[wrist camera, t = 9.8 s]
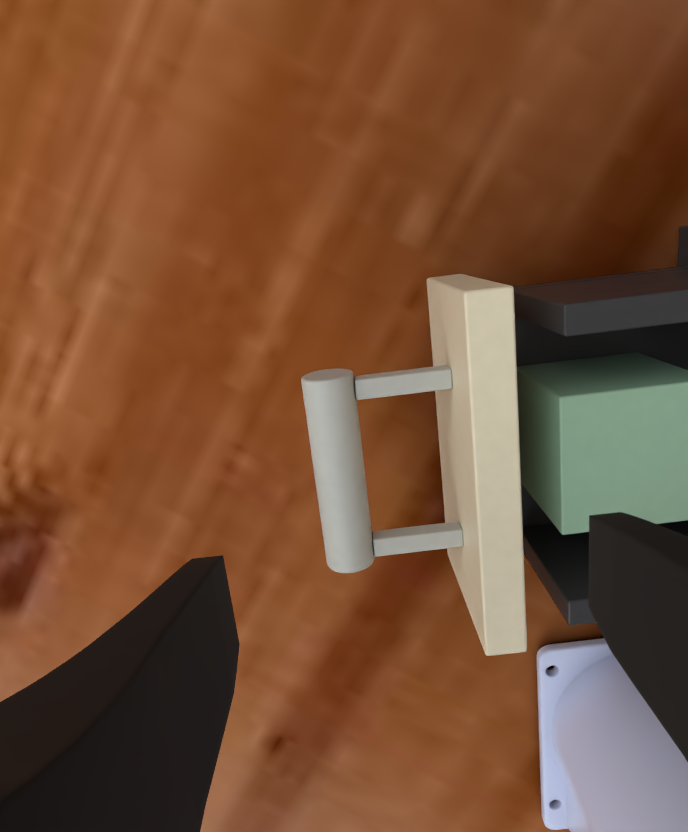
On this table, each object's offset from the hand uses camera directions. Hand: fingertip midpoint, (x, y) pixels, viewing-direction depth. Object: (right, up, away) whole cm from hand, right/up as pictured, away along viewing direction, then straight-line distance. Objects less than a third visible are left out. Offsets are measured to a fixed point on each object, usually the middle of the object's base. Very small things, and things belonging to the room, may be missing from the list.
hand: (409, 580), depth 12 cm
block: (+6, +3, +8) cm, 11 cm away
